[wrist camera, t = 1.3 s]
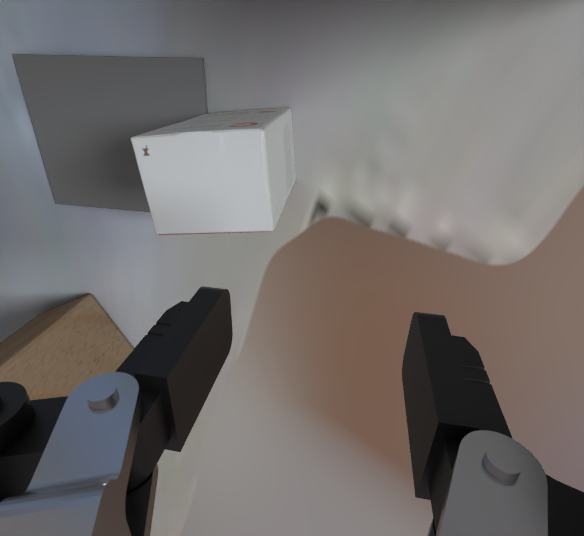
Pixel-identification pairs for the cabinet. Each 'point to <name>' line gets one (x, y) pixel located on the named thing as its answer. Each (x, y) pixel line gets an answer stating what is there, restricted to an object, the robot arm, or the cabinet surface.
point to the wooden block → (63, 349)
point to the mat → (104, 119)
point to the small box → (218, 172)
